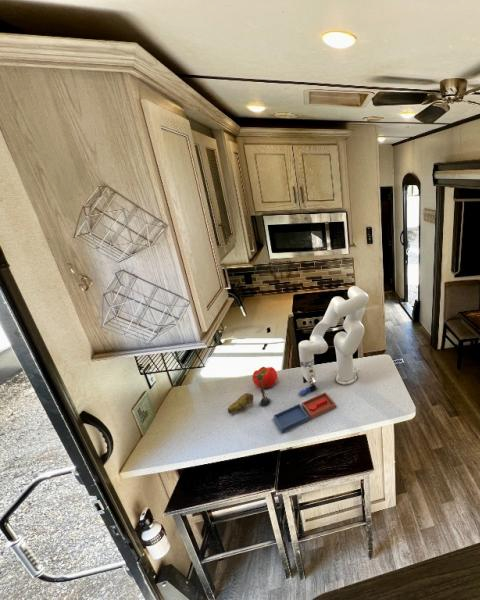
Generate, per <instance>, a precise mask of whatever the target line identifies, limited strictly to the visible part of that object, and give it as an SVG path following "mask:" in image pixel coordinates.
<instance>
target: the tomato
mask: <svg viewBox="0 0 480 600" xmlns="http://www.w3.org/2000/svg"><path fill="white" fill-rule="evenodd" d="M258 373H262V374H263V376H264V377H263V379H261V380H262V382H263V387H264V389H267V388H270V387H272V386H274V385H276V384H277V381H278V372H277V371H276V369H275V368H274V367H273V366H267V367H266V366H262V367H259V369H255V370H254V371H253V374H252V382H253V384H254V385H255V386H256V387H257V388H258V389H261V387H260V382H259V381H260V380H258V379H257V378H253V376H256V375H257V374H258Z"/></svg>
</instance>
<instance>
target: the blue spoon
mask: <svg viewBox="0 0 480 600" xmlns="http://www.w3.org/2000/svg"><path fill="white" fill-rule="evenodd" d="M315 386H316V387H317V385H315ZM308 393H311V392H310V386H307V387H305V388H304V389H302V390H300V391H299V396H302V397H303V396H306V395H307V394H308Z"/></svg>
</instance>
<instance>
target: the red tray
mask: <svg viewBox="0 0 480 600" xmlns="http://www.w3.org/2000/svg"><path fill="white" fill-rule="evenodd" d="M325 398H326V400H327V404H325V405H323V406H321V407H319V408H317V409H316V410H315V411H311V410H310V406H311V405H316V403H317V402H319V401H321V400H323V399H325ZM301 406H302V408H303V409H304V411H305V412H306V413H307V415H308V416H309V419H310V420H313V419H315V418H317V417H319V416H321V415H323V414H325V413H327V412H329V411H331V410H333V409H335V408H336V406H337V405H336V402H335V401H334V400H333V399H332V398H331V397H330V396H329V395H328V393H327V392H323V393H320V394H318V395H316V396H313V397H311V398H309V399H307V400H305V401H302V402H301Z"/></svg>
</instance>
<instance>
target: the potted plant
mask: <svg viewBox="0 0 480 600" xmlns="http://www.w3.org/2000/svg"><path fill="white" fill-rule="evenodd" d="M263 377H264V376H263V374H262V373H258V374H257V375H256V376H253V375H252V379H253V378H257V379H258V380H260V381H259V382H260V387H261V388H260V390H261V400H260V406H262V407H265V406H268V405H269V404H270V403H271V399H270V398H269V397H268V396H267V393H266V391H265V388H264V387H263V382H262V380H261V379H263Z"/></svg>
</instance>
